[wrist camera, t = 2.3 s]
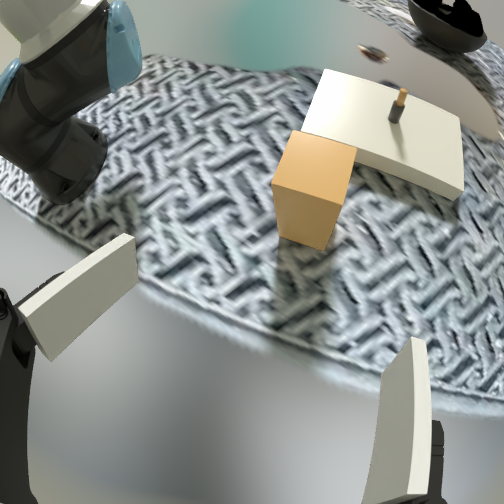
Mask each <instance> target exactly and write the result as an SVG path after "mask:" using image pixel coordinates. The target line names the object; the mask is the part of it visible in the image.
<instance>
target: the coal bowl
mask: <svg viewBox="0 0 504 504" xmlns="http://www.w3.org/2000/svg"><path fill="white" fill-rule="evenodd" d="M408 7H409V11H410V14H411V17H412V19H413V21H414V23H415V24H416V26H417V27H418V29H419V30H420V31H421V32H422V33H423V34H424V35H425V36H426V37H427V38H428V39H429V40H430V41H432V42H433V43H435V44H436V45H438V46H440V47H441V48H444V49H446V50H449V51H452V52H457V53H469V52H473V51H475V50H477V49H479V48H480V47H482V46H483V45H484V44H485V42H486V41H487V36H486V34H485V33H484V30H483V26H482V22H481V18H480V15H479V13H477V12H475V11H474V10H472V8H471V6H470V5H469V4H468V2H467V1H466V0H455V2H454V3H453V7H451V6H449V5H446V4H444V3H442V0H408Z"/></svg>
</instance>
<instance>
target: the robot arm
mask: <svg viewBox="0 0 504 504" xmlns="http://www.w3.org/2000/svg"><path fill="white" fill-rule="evenodd" d="M0 22H1V23H2V24H3V25H4V26H5V28H6V29H7V30H8V31H9V32H10V33H11V34H12V35H13V36H14V37H15V38H16V39H17V40H18V41H19V42H20V43H21V51H20V57H19V58H16V59H15V60H14V61H12V62H11V63H10V64H9V66H8V67H7V68H6V69H5V70H4V72H3V73H2V74H1V75H0V155H1V156H2V157H4V158H5V159H7V160H8V161H10V162H11V163H13V164H14V165H15V166H17V167H18V168H20V169H22V170H23V171H24V172H26V173H27V174H28V175H29V176H30V178H31V179H32V181H33V182H34V184H35V185H36V187H37V188H38V190H39V191H40V192H41V194H42V195H43V196H44V197H45V198H46V199H47V200H49V201H51V202H52V203H54V204H57V205H62V204H66V203H69V202H71V201H72V200H74V199H75V198H77V197H78V196H79V195H80V194H82V193H83V192H84V191H85V190H86V189H87V188H88V186H89V185H90V184H91V183H92V181H93V180H94V179H95V177H96V176H97V174H98V172H99V171H100V169H101V167H102V165H103V162H104V160H105V157H106V153H107V139H106V136H105V135H104V134H103V133H102V131H101V130H100V129H99V128H98V127H96V126H95V125H93V124H91V123H88V122H86V121H84V120H81V119H79V118H77V117H74V116H73V115H74V114H76V113H77V112H79V111H81V110H82V109H84V108H85V107H87V106H89V105H90V104H92V103H94V102H96V101H97V100H99V99H101V98H103V97H104V96H106V95H108V94H110V93H115V92H116V91H117V89H119V88H121V87H123V86H125V85H126V84H128V83H130V82H132V81H134V80H135V79H136V78H137V77H138V76H139V74H140V72H141V70H142V53H141V47H140V42H139V37H138V33H137V29H136V26H135V23H134V19H133V16H132V14H131V11H130V9H129V7H128V6H127V5H126V3H125V2H124V1H123V0H119V1H113V2H112V3H111V4H109V3H108V2H107V0H0ZM138 282H139V278H138V269H137V259H136V247H135V237H133V236H130V235H128V234H125V233H123V234H121V235H120V236H118V237H116V238H115V239H113V240H112V241H110V242H109V243H107V244H106V245H104V246H102V247H101V248H99V249H98V250H96V251H95V252H93V253H92V254H90V255H89V256H87V257H86V258H84V259H83V260H81V261H80V262H79V263H77V264H76V265H74V266H73V267H71V268H70V269H69V270H67V271H66V272H61V273H59V274H56V275H54V276H52V277H51V278H50V279H48V280H47V281H46V282H45V283H43V284H41V285H40V286H39V288H38V287H37V288H36V289H35V290H34V291H32V292H31V293H29V294H28V295H27V296H26V297H24V298H23V299H22V300H20V301H19V302H18V303H17V304H15V305H12V303H11V301H10V299H9V297H8V294H7V292H6V291H5V290H4V289H3V288H0V503H3V504H38V502H37V500H36V498H35V497H34V496H33V494H32V493H31V491H30V486H29V475H28V460H27V421H28V406H29V395H30V385H31V378H32V371H33V364H34V358H35V345H38V347H39V349H40V350H41V352H42V353H43V354H44V355H45V356H46V357H47V358H48V359H49V360H50V361H51V362H52V361H53V360H54V359H55V358H56V357H57V356H58V355H59V354H60V353H61V352H62V351H63V350H64V349H65V348H66V347H67V346H68V345H69V344H70V343H71V342H73V340H75V339H76V338H77V337H78V336H79V335H80V334H81V333H82V332H83V331H84V330H85V329H86V328H87V327H88V326H90V325H91V324H92V323H93V322H94V321H95V320H96V319H97V318H98V317H100V316H101V315H102V314H103V313H104V312H105V311H106V310H107V309H108V308H110V306H112V305H113V304H114V303H115V302H116V301H117V300H119V299H120V298H121V297H122V296H123V295H124V294H125V293H127V292H128V291H129V290H130V289H131V288H132V287H133V286H135V285H136V284H137V283H138ZM443 446H444V431H443V428H442V426H441V423H440V421H436V420H432V419H431V391H430V377H429V366H428V357H427V349H426V342H425V341H424V340H421V339H418V338H414V337H410V339H409V340H408V341H407V343H406V344H405V345H404V347H403V348H402V349H401V351H400V352H399V353H398V355H397V356H396V357H395V358H394V360H393V361H392V362H391V363H390V365H389V366H388V367H387V368H386V369H385V371H384V372H383V373H382V374H381V386H380V399H379V409H378V418H377V427H376V433H375V440H374V447H373V453H372V458H371V464H370V469H369V474H368V478H367V483H366V487H365V492H364V496H363V500H362V503H361V504H447V502H446V501H445V500H444V499H443V498H442V496H441V488H442V487H441V486H442V477H443V476H442V475H443V461H444V460H443V459H444V458H443V455H444V448H443Z"/></svg>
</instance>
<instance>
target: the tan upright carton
mask: <svg viewBox="0 0 504 504" xmlns="http://www.w3.org/2000/svg"><path fill="white" fill-rule="evenodd" d="M356 151H357V148H355V147H352V146H349V145H346V144H342V143H339V142H336V141H332V140H329V139H325V138H322V137H318V136H315V135H311V134H307V133H303V132H299V131H295V130H293V131H292V134H291V136H290V139H289V141H288V143H287V146H286V148H285V151H284V153H283V156H282V158H281V160H280V163H279V165H278V168H277V170H276V173H275V175H274V178H273V180H272V182H271V185H272V192H273V198H274V205H275V212H276V218H277V225H278V232H279V236H280V237H283V238H286V239H289V240H292V241H295V242H298V243H301V244H304V245H307V246H310V247H313V248H316V249H319V250H322V251H324V250H325V247H326V245H327V243H328V240H329V238H330V236H331V233H332V231H333V228H334V226H335V223H336V221H337V218H338V216H339V213H340V211H341V208H342V206H343V202H344V199H345V195H346V191H347V187H348V184H349V180H350V176H351V172H352V168H353V164H354V159H355V155H356Z"/></svg>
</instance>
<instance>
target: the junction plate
mask: <svg viewBox="0 0 504 504" xmlns="http://www.w3.org/2000/svg"><path fill="white" fill-rule="evenodd" d="M301 132H303V133H307V134H311V135H315V136H318V137H322V138H325V139H329V140H332V141H336V142H339V143H342V144H346V145H349V146H352V147H355V148H357V151H356V155H355V159H354V161H355V162H358V163H361V164H364V165H367V166H370V167H372V168H375V169H378V170H381V171H383V172H386V173H389V174H391V175H394V176H397V177H399V178H402V179H404V180H407V181H409V182H411V183H414V184H416V185H419V186H421V187H423V188H426V189H428V190H430V191H432V192H435V193H437V194H439V195H441V196H443V197H446V198H448V199H450V200H452V201H454V200H455V199H456V198H457V197H459V196H460V195H461V194H462V193H463V192H464V169H463V151H462V140H461V130H460V122H459V118H458V117H457V116H455V115H453V114H451V113H449V112H447V111H445V110H443V109H441V108H438V107H436V106H434V105H432V104H430V103H428V102H425V101H423V100H421V99H418V98H416V97H413V96H411V95H408V91H407V90H406V89H404V88H401V89H400V91H398V90H395V89H392V88H390V87H387V86H384V85H381V84H378V83H375V82H371V81H368V80H365V79H362V78H359V77H355V76H351V75H348V74H344V73H340V72H336V71H332V70H328V69H325V70H324V73H323V75H322V78H321V80H320V83H319V85H318V88H317V91H316V93H315V96H314V98H313V101H312V103H311V106H310V108H309V111H308V114H307V116H306V119H305V121H304V124H303V126H302V129H301Z"/></svg>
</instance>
